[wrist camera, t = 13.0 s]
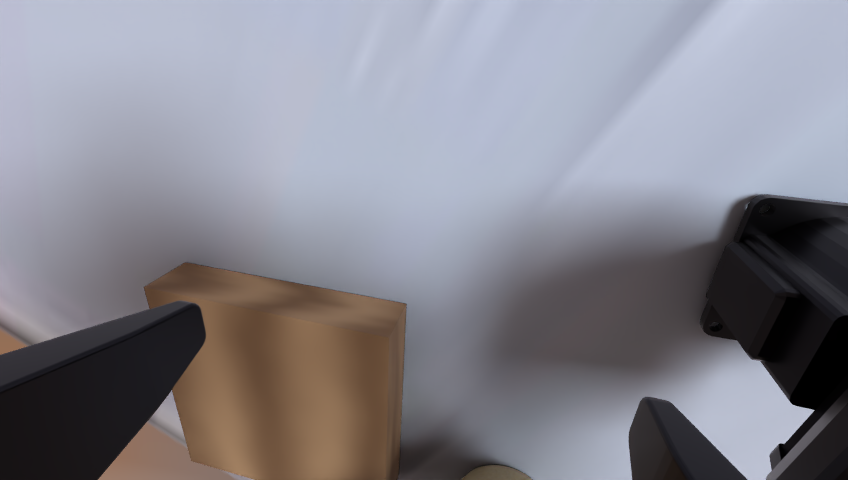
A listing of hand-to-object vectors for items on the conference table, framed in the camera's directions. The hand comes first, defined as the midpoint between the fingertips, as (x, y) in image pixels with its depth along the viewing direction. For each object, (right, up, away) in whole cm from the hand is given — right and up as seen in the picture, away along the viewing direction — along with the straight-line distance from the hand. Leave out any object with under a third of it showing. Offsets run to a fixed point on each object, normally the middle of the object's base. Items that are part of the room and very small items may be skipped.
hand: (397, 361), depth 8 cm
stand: (-8, -6, +19) cm, 21 cm away
